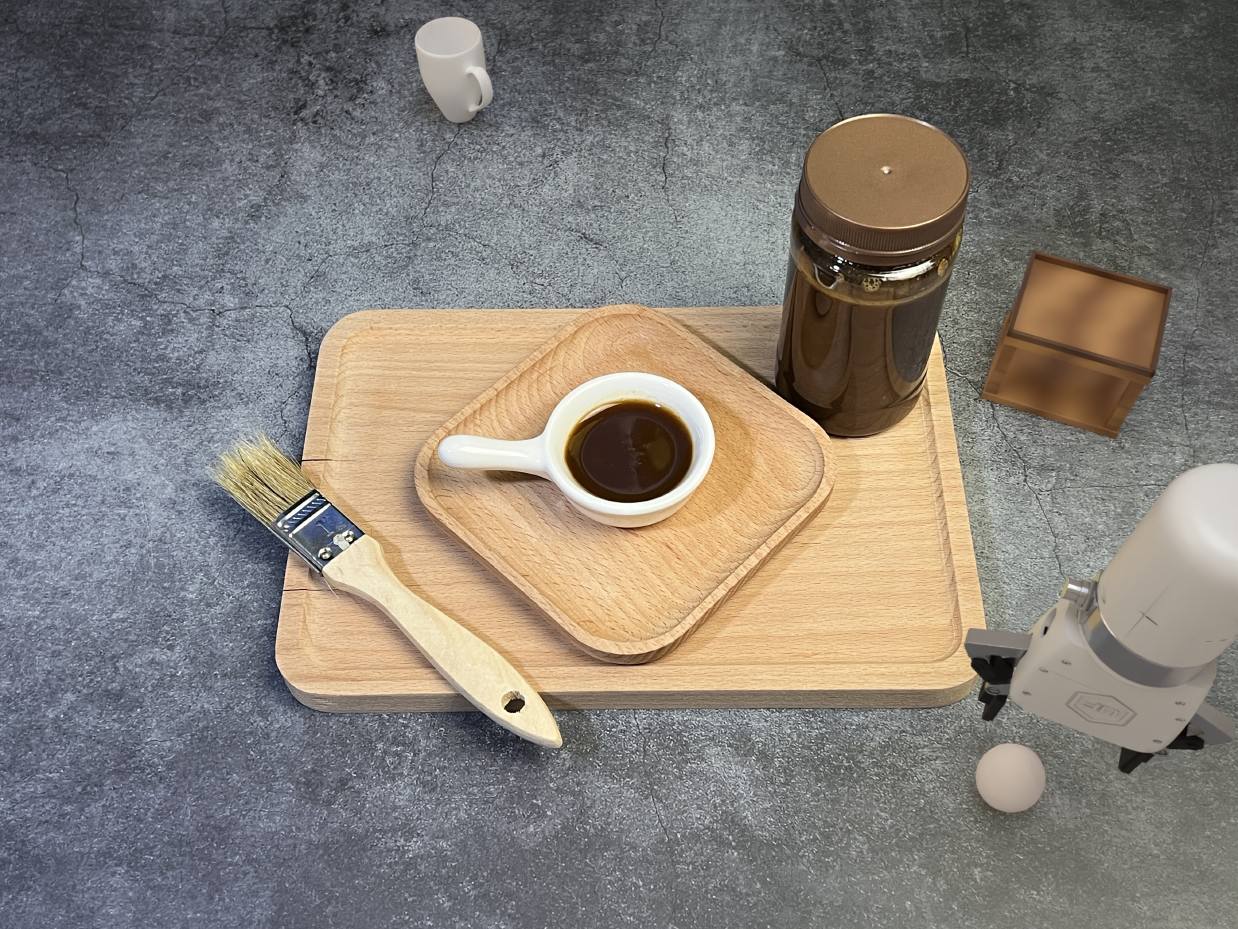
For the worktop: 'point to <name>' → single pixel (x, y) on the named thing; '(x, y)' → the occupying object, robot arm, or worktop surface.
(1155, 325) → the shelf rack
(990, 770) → the egg
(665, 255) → the worktop surface
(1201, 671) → the robot arm
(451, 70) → the mug
